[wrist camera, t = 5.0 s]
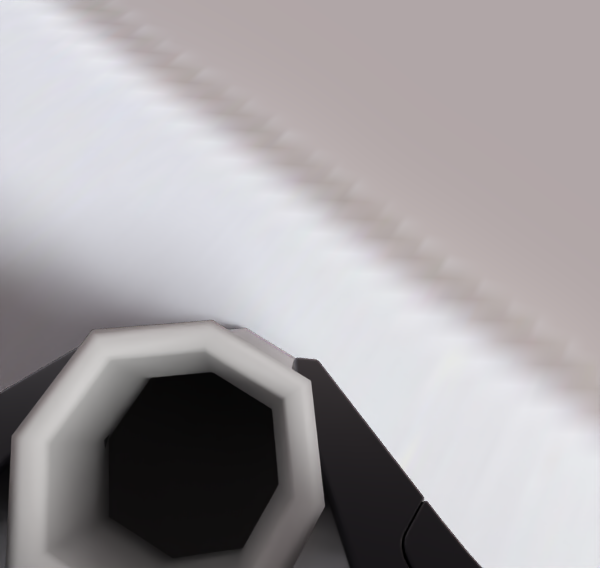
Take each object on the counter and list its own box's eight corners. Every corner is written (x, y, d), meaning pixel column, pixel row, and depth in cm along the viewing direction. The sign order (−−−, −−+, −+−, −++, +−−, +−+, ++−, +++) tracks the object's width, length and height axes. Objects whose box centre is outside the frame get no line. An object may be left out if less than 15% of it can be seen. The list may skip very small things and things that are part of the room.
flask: (129, 302, 16) (-43, 85, 6) (360, 357, 16) (541, 232, 6) (42, 563, 13) (-449, 870, 4) (312, 621, 14) (479, 1037, 4)
